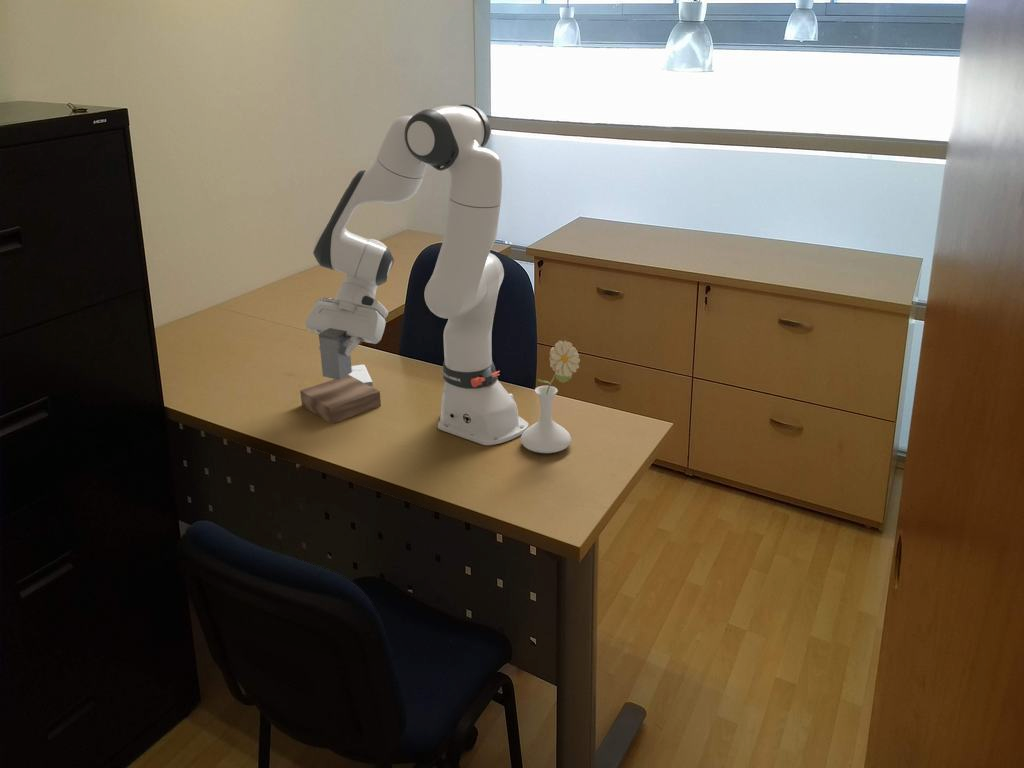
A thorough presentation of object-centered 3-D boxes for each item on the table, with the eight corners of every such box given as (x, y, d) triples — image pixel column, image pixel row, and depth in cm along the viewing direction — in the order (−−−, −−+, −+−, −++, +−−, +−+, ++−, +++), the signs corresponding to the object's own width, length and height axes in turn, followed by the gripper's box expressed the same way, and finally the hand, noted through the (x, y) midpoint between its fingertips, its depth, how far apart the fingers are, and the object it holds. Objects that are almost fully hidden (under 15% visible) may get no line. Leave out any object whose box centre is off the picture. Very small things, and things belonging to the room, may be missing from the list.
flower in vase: (529, 461, 187) (529, 355, 177) (514, 437, 197) (513, 336, 187) (585, 452, 191) (588, 348, 180) (567, 429, 200) (570, 329, 190)
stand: (380, 405, 213) (379, 391, 211) (332, 423, 204) (330, 408, 203) (349, 388, 222) (348, 374, 221) (301, 405, 214) (300, 390, 212)
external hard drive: (341, 391, 222) (334, 373, 233) (373, 387, 224) (365, 369, 235) (341, 385, 221) (334, 367, 232) (372, 381, 224) (364, 363, 234)
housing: (351, 372, 211) (348, 330, 206) (340, 379, 207) (336, 337, 202) (334, 368, 213) (331, 327, 208) (322, 376, 209) (318, 334, 204)
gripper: (312, 290, 212) (291, 340, 208) (383, 301, 204) (363, 354, 200) (324, 302, 218) (305, 351, 214) (394, 313, 210) (375, 364, 206)
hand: (333, 352), depth 207 cm, fingers closed on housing, 5 cm apart
